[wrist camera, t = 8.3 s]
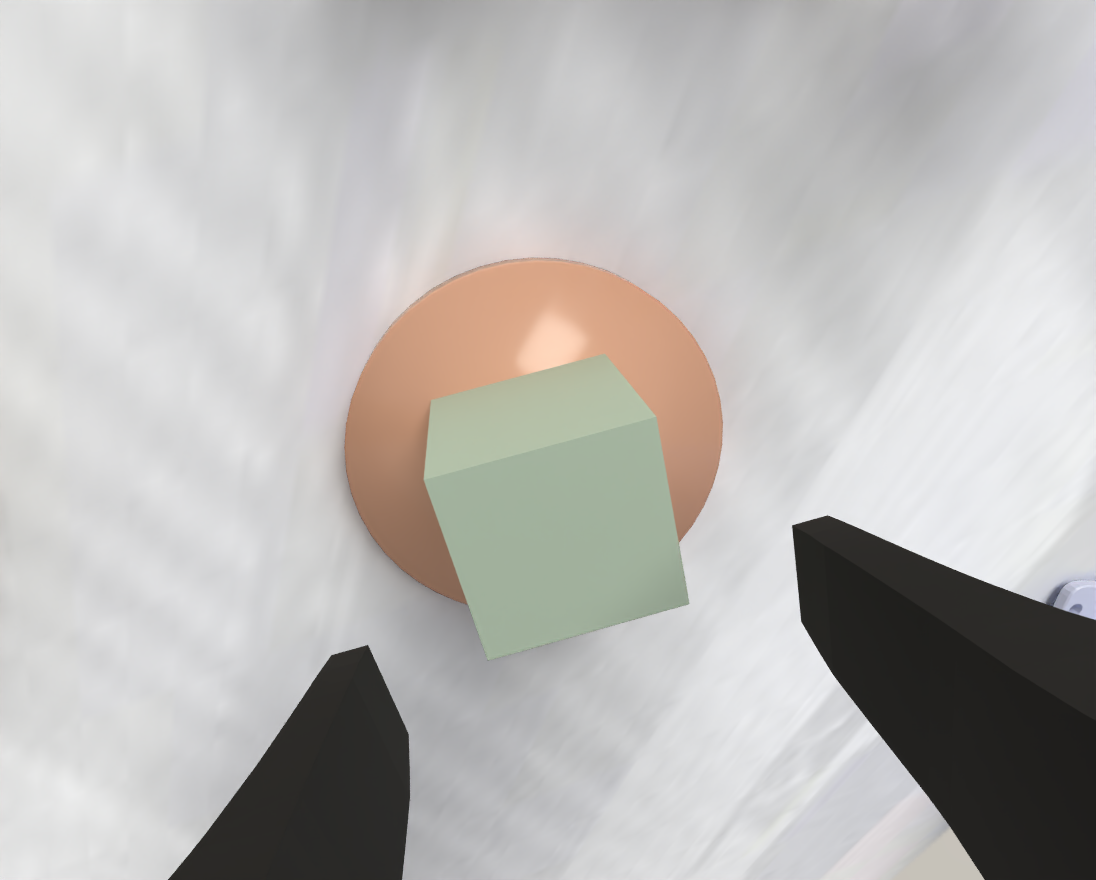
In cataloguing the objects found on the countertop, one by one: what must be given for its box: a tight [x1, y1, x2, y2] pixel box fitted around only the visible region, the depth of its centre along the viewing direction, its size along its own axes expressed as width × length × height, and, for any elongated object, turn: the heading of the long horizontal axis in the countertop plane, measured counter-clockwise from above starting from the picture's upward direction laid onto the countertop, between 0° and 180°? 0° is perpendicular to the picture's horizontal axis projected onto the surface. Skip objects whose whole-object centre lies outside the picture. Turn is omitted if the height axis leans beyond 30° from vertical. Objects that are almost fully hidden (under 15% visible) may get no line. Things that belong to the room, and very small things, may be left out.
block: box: [424, 354, 689, 661], centre depth 15 cm, size 4×4×4 cm
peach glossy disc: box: [345, 258, 723, 604], centre depth 18 cm, size 10×10×1 cm
